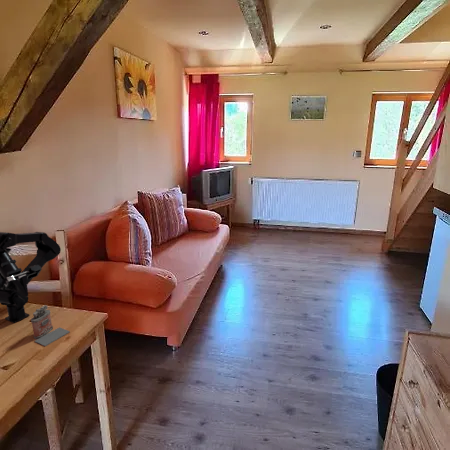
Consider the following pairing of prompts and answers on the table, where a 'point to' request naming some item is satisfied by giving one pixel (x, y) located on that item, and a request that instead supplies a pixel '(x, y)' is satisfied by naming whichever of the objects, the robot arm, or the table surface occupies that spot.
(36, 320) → the lighter
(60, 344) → the table surface
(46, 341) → the pad
